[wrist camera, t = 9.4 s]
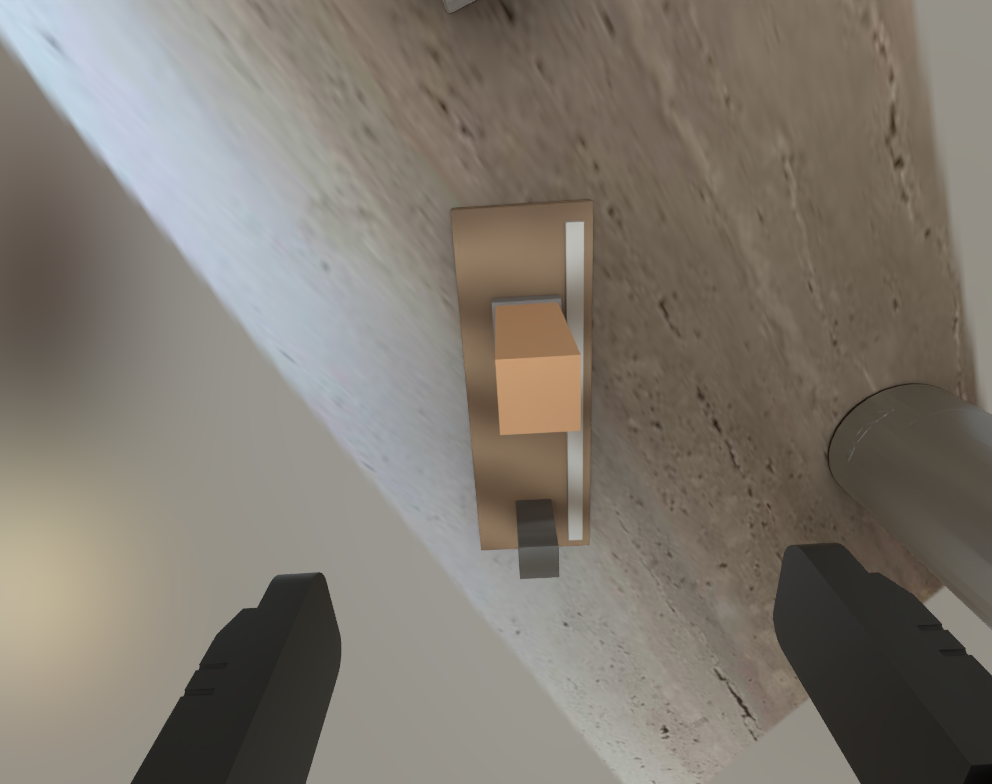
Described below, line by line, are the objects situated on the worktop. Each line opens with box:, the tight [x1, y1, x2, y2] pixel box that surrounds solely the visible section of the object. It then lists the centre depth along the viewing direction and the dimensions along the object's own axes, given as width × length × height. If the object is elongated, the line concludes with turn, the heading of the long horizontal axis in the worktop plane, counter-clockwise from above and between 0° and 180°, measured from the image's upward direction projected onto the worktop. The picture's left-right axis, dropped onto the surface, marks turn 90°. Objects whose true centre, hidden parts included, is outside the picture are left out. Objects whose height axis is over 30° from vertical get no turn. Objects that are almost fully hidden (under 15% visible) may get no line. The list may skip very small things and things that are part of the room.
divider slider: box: [492, 295, 581, 435], centre depth 28 cm, size 4×4×10 cm
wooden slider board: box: [451, 199, 593, 579], centre depth 33 cm, size 24×8×6 cm, turn 3°
